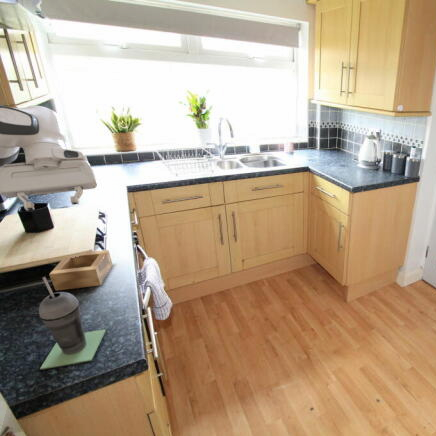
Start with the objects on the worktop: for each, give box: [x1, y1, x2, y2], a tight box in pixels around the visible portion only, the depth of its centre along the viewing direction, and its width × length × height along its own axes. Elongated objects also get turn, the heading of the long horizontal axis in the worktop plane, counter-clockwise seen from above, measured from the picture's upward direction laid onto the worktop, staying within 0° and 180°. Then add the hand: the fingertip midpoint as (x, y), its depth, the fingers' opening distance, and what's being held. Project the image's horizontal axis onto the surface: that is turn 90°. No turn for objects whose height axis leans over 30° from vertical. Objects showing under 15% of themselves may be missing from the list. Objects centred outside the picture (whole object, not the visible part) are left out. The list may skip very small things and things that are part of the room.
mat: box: [39, 328, 107, 371], centre depth 77 cm, size 10×10×1 cm
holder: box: [48, 249, 114, 292], centre depth 102 cm, size 12×12×6 cm
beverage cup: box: [38, 276, 86, 355], centre depth 73 cm, size 7×7×20 cm
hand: (53, 206), depth 83 cm, fingers open, 8 cm apart
